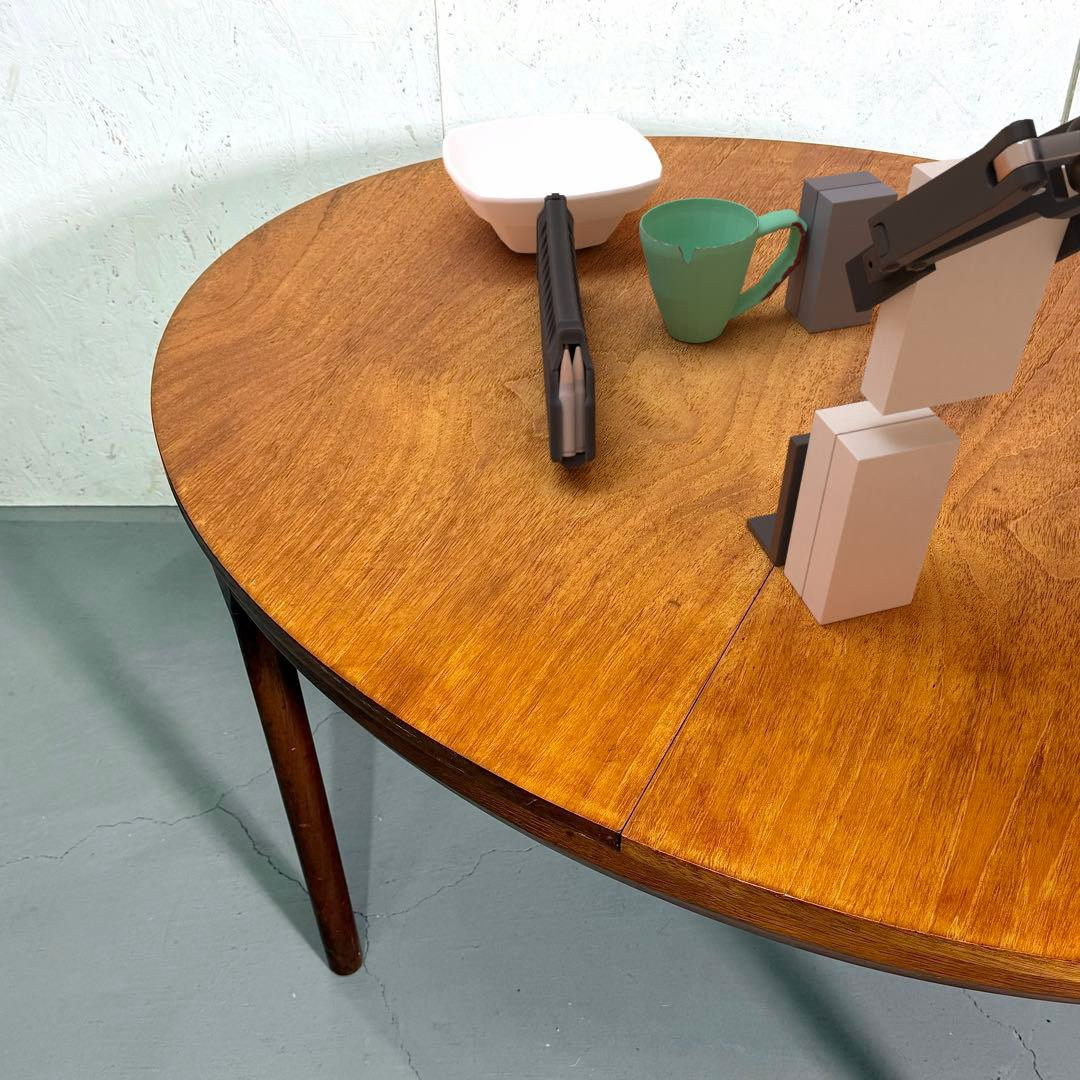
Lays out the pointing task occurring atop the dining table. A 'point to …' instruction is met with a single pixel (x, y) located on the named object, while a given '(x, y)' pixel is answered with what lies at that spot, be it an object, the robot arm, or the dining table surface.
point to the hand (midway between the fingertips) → (928, 275)
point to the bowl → (552, 173)
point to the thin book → (961, 317)
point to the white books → (858, 508)
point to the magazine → (564, 339)
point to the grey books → (833, 247)
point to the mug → (711, 261)
